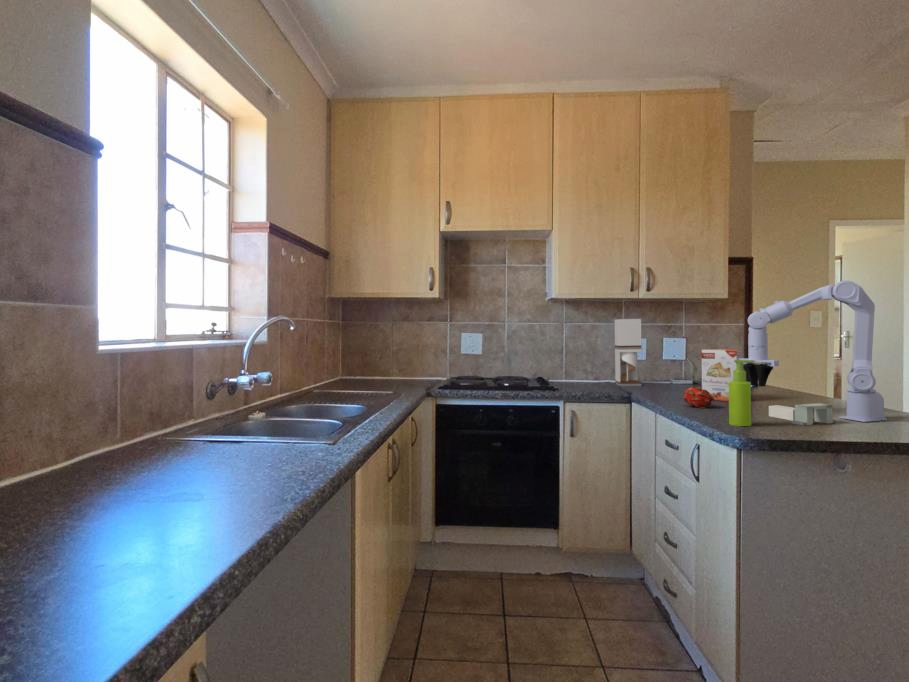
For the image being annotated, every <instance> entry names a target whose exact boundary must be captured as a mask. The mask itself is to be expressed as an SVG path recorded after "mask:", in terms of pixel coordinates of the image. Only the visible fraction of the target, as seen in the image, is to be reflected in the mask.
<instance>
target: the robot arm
mask: <svg viewBox="0 0 909 682" xmlns="http://www.w3.org/2000/svg"><path fill="white" fill-rule="evenodd" d="M832 299H834V300H835V301H837V302H840V303H843V304H845V305H847V306H848V307H849V308H851V309H852V310H853V311H855V312H854V330H853V344H852V345H853V346H852V361H851V368H850V372H849V373H848V374H847V376H846V381H847V383H848V385H849V386H848V388H846V391H845V392H846V415H840V416H839V418H840V419H843V420H844V419H845V420H851V421H857V422H864V423H870V422H879V421H881V420H882V421H887V420H888V418H885V400H884V399H885V398H884V396H883V395H882V393H880V392H878V391H877V390H876V389H875V388H874V387H876V384H877V382H876V377H875V375H874V374H873V363H872V359H873V341H874V327H875V326H874V325H875V307H876V306H875V302H874V301H873V300H872V299H871V298H870V296H869V295H868V294H867V293H866V291H865V290H864V288H863V287H862V286H861V285H859V284H858V283H855V281H852V280H846V279H845V280H840V281H838V282H837V283H832V284H831V283H830V284H828V285H826V286H822V287H819V288H818V289H815V290H812V291H810V292H807V293H806V294H804V295H801V296H799V297H797V298H795V299H793V300H790V301H787V300H780V301H779V300H776V301H774V302H773V304H771V305H769V306H767V307H764V308H763V307H760V308H759V311H754V312H753V313H751V314H750V315H749V316H748V318H747V325H748V330H747V331H748V336H747V337H748V339H747V345H748V346H747V347H748V350H747V351H748V353H747V354H748V358H747V357H746V358H744V357H743V358H739V360H751V361H755V362H754V363H750V362H743V370H744V371H746V375H747V376H748V379H749V382H750V383H751V387H752V386H759V387H761V388H762V387H766V384H767V383H768V378H769V376H770V374H771V373H772V370H773V369H774V367H779V366H780V361H779V360H776V359H770V358H768V357H769V355H768V354H769V353H768V349H769V346H768V345H769V343H768V341H769V340H768V339H769V338H768V337H769V336H768V332H767V330H768V329H767V325H768V324H771V325H772V324H774V323H777V322H779V321H782V320H784V319H787V318H789V317H791V316H792V315H793V313H794V311H796V310H798V309H800V308H803V307H805V306H808V305H810V304H813V303H816V302H818V301H830V300H832Z"/></svg>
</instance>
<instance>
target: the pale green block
mask: <svg viewBox="0 0 909 682" xmlns="http://www.w3.org/2000/svg"><path fill="white" fill-rule="evenodd" d="M794 408H795V420H793V421H792V420H790V424H793V425H799V426H803V427H804V426H813V425H814V424H813V423H814V422H817V423H822V424H834V422H836V423H837V419H833V404H831V403H829V404H828V403H822V402H817V403H804V404H803V403H802V404H794ZM813 412H814V413H813ZM813 417H814V419H813ZM813 420H814V422H813Z"/></svg>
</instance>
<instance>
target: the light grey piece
mask: <svg viewBox="0 0 909 682" xmlns="http://www.w3.org/2000/svg"><path fill="white" fill-rule="evenodd" d="M638 353H642V319H641V318H621V319H619V318H617V319H614V368H615V369H614V371H615V372H614V377H615V378H614V379H615V380H614V381H615V382H614V383H616V384H617V386H618V385H619V387H642V386H643V381H640V380H639V379H638ZM616 384H615V385H616Z"/></svg>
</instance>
